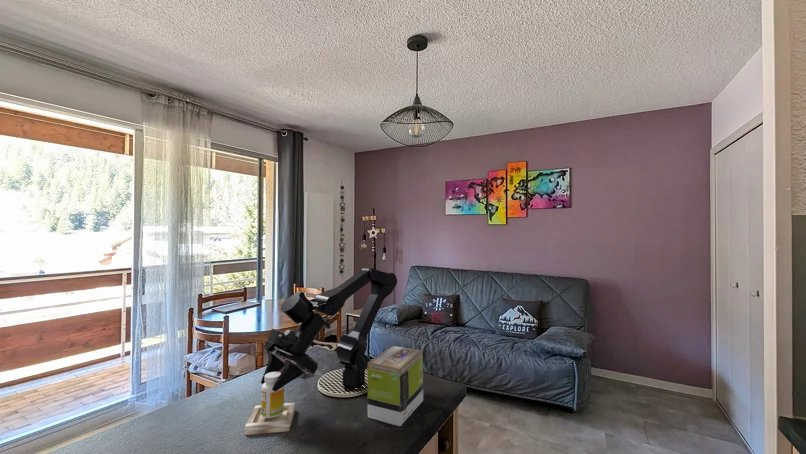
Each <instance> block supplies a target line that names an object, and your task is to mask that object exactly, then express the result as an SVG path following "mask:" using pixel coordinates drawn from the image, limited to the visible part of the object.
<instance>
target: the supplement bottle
mask: <svg viewBox="0 0 806 454" xmlns="http://www.w3.org/2000/svg"><path fill="white" fill-rule="evenodd" d="M280 375H281V373H280V372H270V373H267V374H266V375H265V379H264V380H265V383H264V384H261V385H262V386H261V389H260V391H261V392H260V393H261V396H260V399H261V400H260V401H261V402H260V405H261V415H262V417H264V418H274V417H277V416H279V415H281V414H282V413H283V411H284V403H285V386H283V387H282V388H280V389H279V390H277V391H276V392H275V391H273V390H272V388H273V386H274V384H275V383H276V381H277V379H278V378H279V376H280Z"/></svg>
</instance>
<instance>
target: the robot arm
mask: <svg viewBox="0 0 806 454" xmlns="http://www.w3.org/2000/svg"><path fill="white" fill-rule="evenodd" d="M369 283H370V294H369V296H368V298H367V300H366V302H365V304H364V306H363V308H362V311H361V313H360V315H359V316H358V318H357V320H356V322H355V325H354V327H353V329H352V331H351V332H350V333H348V334H345V333H343V335H342V336H341V338H340V341H339V343H338V344H337V345H336V346H337V349H336V356H337V359H338V361H339V364H340V365H342V366H344V369H342V386H343V390H344V389H345V390H344V391H348V390H347V389H355V388H364V387H363V386H362V385H365V386H366V370H367V366H368V362H369V361H371V360H372V359H370V358H369V357H368V356H367V355H366V350H367V337H368V335H369V333H370V330H371V328H372V326H373V324H374V323H375V319H376V317H377V315H378V313H379V311H380V309H381V306H382V304H383V302H384V300H385V299H386V298H387V297H388V296H389V295H391V294H392V293H393V291H394V289H395V288H396V287H397V284H398V278H397V275H396V274H395V273H394V272H386V271H381V270H378V269H376V268H375V267H366V266H364V267H362V268H361V269H360V270H359V271H358V272H356V273H354V275H352V276H351V277H349V278H348V279H346V280H345V281H343V282H342V283H341V284H340V285H338V286H337V287H335V288H331V289H327V290H324V291H322V292H320V293H319V294H317V295H316V296H315V297H314V298H312V299H308V298H307V297H306V295H305V294H304V293H303V292H302V291H296V292H295V294H292V295H290V296H288V298H286V299H284V301H283V302H282V304H281V306H280V311H281V312H282V313H284V314H285V316H287V317H288V318H289V319H290V320H291V322H293V323H294V324H295V325H296V324H297V325H298V324H299V325H298V327H296V329H294V328H292V329H287V330H285V331H283V330H279V329H275V328H271V331H270V332H269V335H268V338H267V340H266V342H265V343H264V344H263V346H262V348H263V350H265V351H266V355H267V357H268V361H267V364H266V367H265V370H264V372H263V376H262V377H261V381H260V384H261V385H263V384H264V383H265V380H264V379H265V375H266V374H267V373H270V372H279V371H280V370H281V369H282V368H283V367H284V366H285V368H284V370H283V371H282V373H281V375H280V376H279V378H278V379H277V381H276V383H275V384H274V386H273V388H272V390H273V391H275V392H276V391H277V390H279V389H280V388H282V387H283V386H284V387H285V386H286V385H287V384H289V383H291V382H292V381H294V380H296V379H298V378H299V377H301V375H304V376H305V375H306V373H308V374H310V375H312V376H314V375H315V374H316V372H317V370H318V369H319V363H318V362H317V361H316V360H314V359H313V358H312V357H311V356H310V355H309V354H307V353H306V352H307V351H308V349H309V348H310V347H312V348H314V347H315V345H316V343H315V342H314V341H315V340H316V339H317V337H318V336H319V335H318V334H320V332H321V331H322V329H323V328H324V329H331V323H330V318H326V317H324V316H322V315H326V316H330V317H333V316H335V315H337V314H338V313H339V312H340V311H341V310H342V309H343V308H344V306H345V303H346V301H347V300H348V299H349V298H350V297H352V296H353V295H354V294H356V293H357V292H358V291H360V290H361V289H362V288H364V287H365V286H366V285H368V284H369ZM314 311H315V312H314ZM285 358H286V359H288V360H286V359H285ZM284 359H285V363H284V362H283V361H282V360H284ZM289 360H291V361H289ZM305 369H306V373H305V372H304V371H305ZM361 386H362V387H361Z"/></svg>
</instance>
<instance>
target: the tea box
mask: <svg viewBox="0 0 806 454" xmlns="http://www.w3.org/2000/svg"><path fill="white" fill-rule="evenodd" d="M423 356H424V355H423V350H422V349H416V348H415V349H414V348H410V347H409V348H407V347H402V346H395V345H392V346H391V347H389V348H388V349H386V350H385V351H383V352H381V353H379V354H378V355H377V356H375V357H374V358H372V359H370V360H371V361H369V362H368V366H367V368H366V370H367V371H366V372H367V375H366V376H367V381H366V382H367V384H366V385H367V418H369V419H372V420H376V421H379V422H382V423H386V424H390V425H393V426H397V427H401V426H402V425H403V424H404V422H406V420H407V419H409V417H410V416H411V415H412V414H413V413H414V411H415V410H416V409H417V408H419V406H420V405H421V404H422V403H423V402H424V372H423V371H424V367H423V366H424V365H423V362H424V361H423Z"/></svg>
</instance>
